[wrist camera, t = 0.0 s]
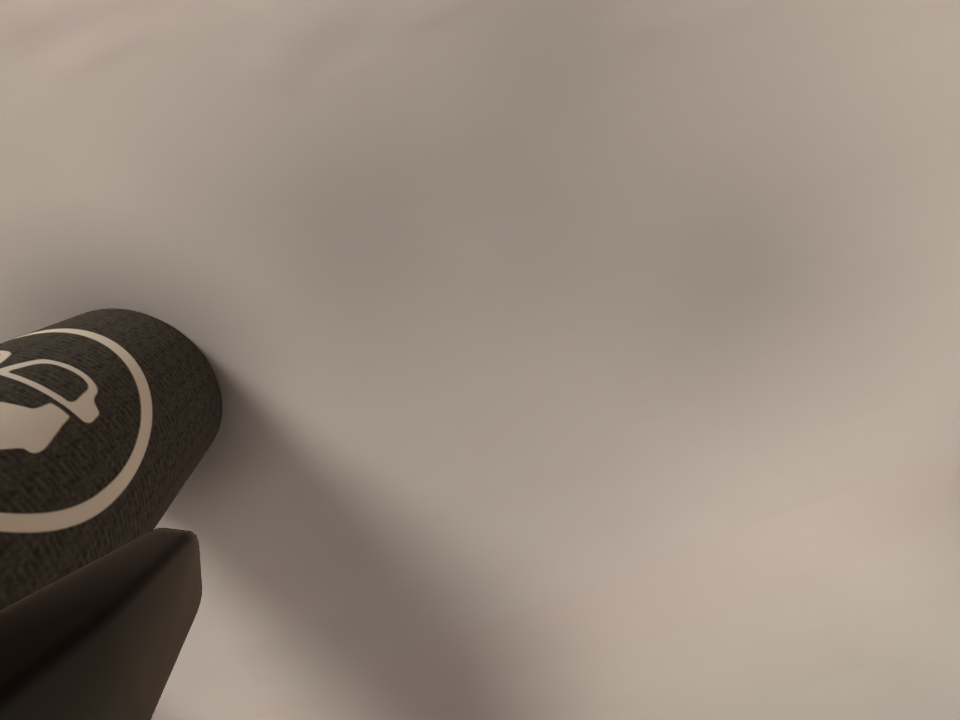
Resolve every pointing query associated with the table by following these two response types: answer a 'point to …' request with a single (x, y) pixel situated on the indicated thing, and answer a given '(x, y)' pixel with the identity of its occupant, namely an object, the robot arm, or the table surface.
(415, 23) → the table surface
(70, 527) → the coffee cup
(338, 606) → the table surface
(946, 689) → the table surface
